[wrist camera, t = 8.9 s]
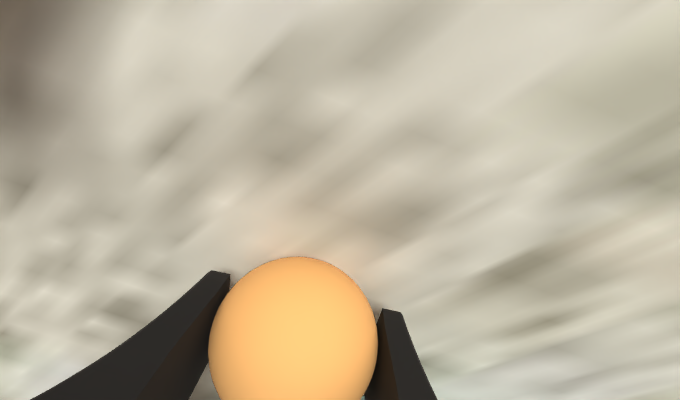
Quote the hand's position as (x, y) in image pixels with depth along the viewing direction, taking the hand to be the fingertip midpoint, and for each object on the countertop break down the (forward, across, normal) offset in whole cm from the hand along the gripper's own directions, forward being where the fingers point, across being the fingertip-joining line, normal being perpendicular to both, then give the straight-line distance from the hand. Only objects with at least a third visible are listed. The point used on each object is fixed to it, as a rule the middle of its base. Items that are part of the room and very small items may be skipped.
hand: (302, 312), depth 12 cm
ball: (-1, 0, 0) cm, 1 cm away
